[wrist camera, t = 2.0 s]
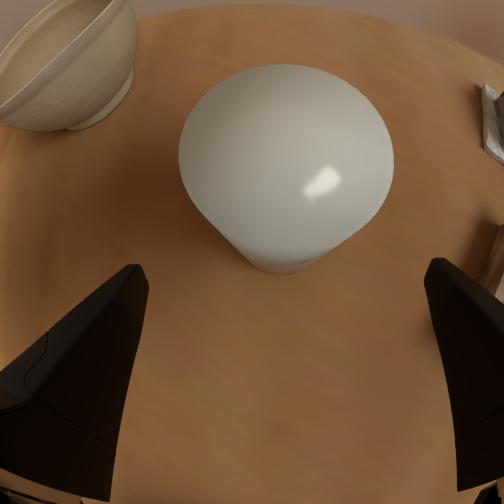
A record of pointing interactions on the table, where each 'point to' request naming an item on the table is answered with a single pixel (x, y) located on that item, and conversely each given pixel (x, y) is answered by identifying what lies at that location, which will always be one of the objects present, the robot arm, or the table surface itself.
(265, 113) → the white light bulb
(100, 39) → the planter bowl
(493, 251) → the divided tray
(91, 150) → the table surface
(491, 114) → the packaged product
